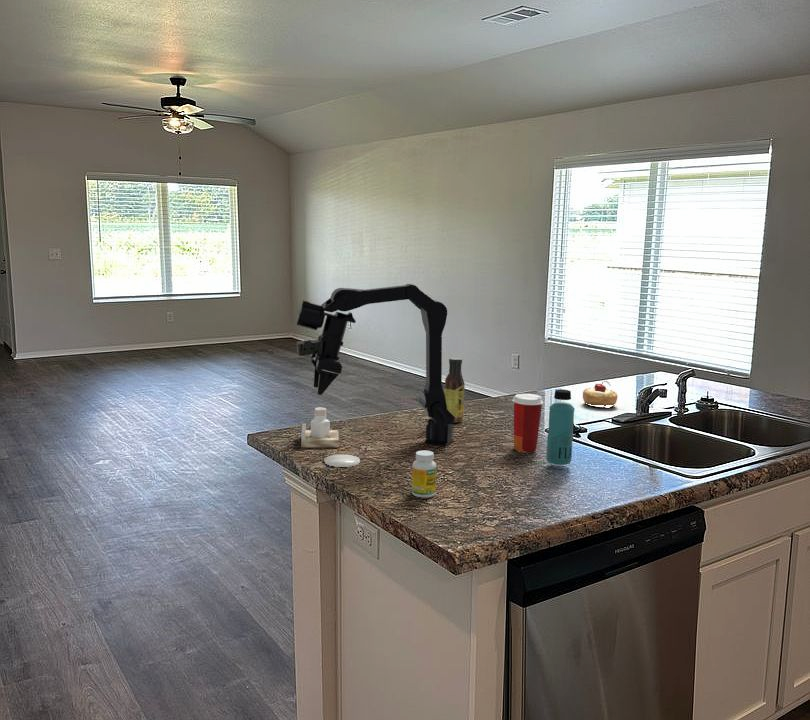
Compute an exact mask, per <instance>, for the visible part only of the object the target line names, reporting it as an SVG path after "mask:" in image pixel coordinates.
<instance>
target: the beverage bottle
mask: <svg viewBox="0 0 810 720" xmlns="http://www.w3.org/2000/svg"><path fill="white" fill-rule="evenodd" d="M571 392H572V391H571V390H568V389H563V388H562V389H555V391H554V395H553V396H554V397H553V399H555V400H561V401H555V402H553V403H552V404H550V406H549V407H548V408H549V412H548V413H549V414H548V430H547V432H548V433H547V440H546V449H545V450H546V453H545V455H546V456H545V457H546V459H545V460H546V461H547V463H549V464H551V465H559V466H565V465H566V466H568V465H569V464H571V461H572V459H573V458H572V454H573V446H574V445H573V440H574V439H573V436H574V435H573V434H574V425H575V423H574V422H575V421H574V420H575V417H574V416H575V408H574V406H573V404H571V403H570V402H567V401H569V400H571V399H572V397H571V396H572V393H571ZM565 401H566V402H565Z"/></svg>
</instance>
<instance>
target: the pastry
mask: <svg viewBox="0 0 810 720" xmlns="http://www.w3.org/2000/svg"><path fill="white" fill-rule="evenodd" d="M604 383H607V384H608V385H609V386H610V387H612V386H611V384H610V382H609V381H608V380H607V381H606V380H604V381H602V382H601V383H596V384H595V385H594V387H592V388H591V387H589V388H585V389H584V390H583V391H582V400H583V401H584V404H585V403H587V404H591V405H604V406H606V405H614V404H615V405H616V404H617V401H618V393H617V392H615V391H614V390H609V389H608V388H607V387H606V385H604ZM615 405H614V406H615Z"/></svg>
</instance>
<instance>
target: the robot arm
mask: <svg viewBox="0 0 810 720" xmlns="http://www.w3.org/2000/svg"><path fill="white" fill-rule="evenodd" d="M405 300H409V301H410V303H412V304H413V305H414V306H415V307H416V308H418V309H419V310H420V314H421V320H422V321H421V322H422V325H423V327H424V331H425V345H426V346H425V386H424V388H423V389H422V388H419V389H418V393H419V400H418V403H419V404H420V405H421V409H422V410H423V411H424V412H425V413H426V414H427V417H428V418H429V419H428V420H427V424H426V425H425V440H424V443H426V444H430V445H438V446H444V447H445V446H447V445H450V444H451V443H453V442H454V441H455V439H454V438H453V424H454V423H453V421H454V418H455V417H454V416H453V415H452V414H451V413H450V412H449V411H448V410H447V404H446V398H445V394H444V388H443V381H442V380H443V379H442V377H443V371H442V370H443V367H442V366H443V358H442V356H443V351H442V350H443V347H442V345H443V340H442V339H443V337H442V336H443V332H444V329H445V326H446V323H447V317H448V308H447V306H446V305H445V304H444V303H443V302H440V301H437V300H435V299H432V298H431V297H430V296H429V295H428V294H426V293H425V292H424V291H422V290H421V289H420V288H419V287H418V286H417V285H415V284H412V283H406V284H404V285H403V284H402V285H395V286H388V287H387V286H385V287H378V288H377V287H376V288H369V289H360V288H347V287H339V288H336V289H334V290H333V292H332V293H331V295H330V298H328V299H326V301H324V302H323V303H322V304H321V305H320V304H316V303H312V302H310V301H308V300H304V299H302V301H301V305H300V306H299V309H298V311H297V313H296V317H295V323H294V325H295V326H299V327H301V328H306V329H310V330H313V331H317V330H318V329H320V328H322V327H323V328H322V332H321V334H319V335H318V338H317V339H308V340H305V339H304V340H299V341H296V350H297V351H296V352H297V355H298V356H299V357H300V356H301V357H302V356H306V355H309V357H310V358H309V359H310V361H311V363H312V364H313V367H314V370H313V371H314V372H313V373H314V374H313V387H314V388H316V389H317V393H316V394H317V395H319V396H322V395H323V394H324V393H325V392H326V390H327V389H328V388H329V386H331V384H332V383H333V382H334V380H335V379H337V377H339V375H340V374H342V373H341V372H342V370H343V366H342V363H341V362H340V361H339V360H340V357H339V354H340V351H341V347H343V345H344V341H343V339H344V335H345V333H346V329H347V325H348V323H353V324H355V323H356V322H357V321H356V319H355V318H354V316H353V313H352V312H351V311H352V310H355V309H356V310H357V309H359V308H361V307H363V306H366V305H373V304H379V303H380V304H382V303H387V302H389V303H390V302H398V301H405ZM342 312H343V313H342ZM344 312H348V313H344ZM333 313H334V314H333Z"/></svg>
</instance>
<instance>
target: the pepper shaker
mask: <svg viewBox="0 0 810 720" xmlns="http://www.w3.org/2000/svg"><path fill="white" fill-rule="evenodd" d="M330 422H331V421H330V420H328V418H327V408H325V407H321V406H320V407H315V408H314V418H313V419H312V420H311V421H310V430H311V438H330V430H331V428H330V427H331V426H330V425H331V423H330Z"/></svg>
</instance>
